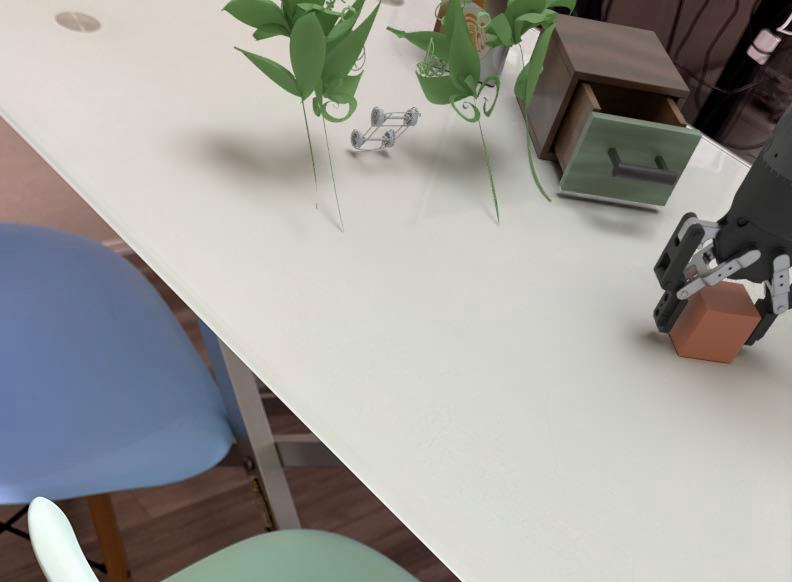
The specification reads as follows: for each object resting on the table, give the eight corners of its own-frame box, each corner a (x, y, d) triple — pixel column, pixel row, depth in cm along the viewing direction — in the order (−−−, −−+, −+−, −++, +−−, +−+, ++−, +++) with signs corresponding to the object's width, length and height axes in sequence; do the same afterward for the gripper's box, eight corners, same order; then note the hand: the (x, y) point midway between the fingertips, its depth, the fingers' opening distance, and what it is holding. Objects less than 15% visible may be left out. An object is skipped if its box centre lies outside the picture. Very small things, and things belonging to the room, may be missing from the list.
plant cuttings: (526, 251, 107) (496, 49, 107) (634, 189, 91) (598, -48, 91) (223, 266, 96) (190, 41, 96) (284, 199, 79) (244, -72, 80)
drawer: (676, 230, 99) (716, 159, 94) (570, 213, 98) (604, 139, 92) (632, 142, 111) (666, 73, 105) (537, 125, 110) (565, 55, 104)
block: (714, 328, 90) (743, 283, 87) (730, 363, 87) (762, 318, 83) (663, 321, 90) (690, 275, 86) (678, 356, 87) (707, 310, 83)
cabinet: (646, 176, 108) (690, 91, 101) (538, 158, 107) (574, 70, 99) (616, 113, 118) (653, 31, 110) (515, 95, 116) (547, 11, 109)
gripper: (740, 174, 72) (637, 349, 84) (916, 204, 74) (790, 371, 86) (710, 124, 77) (617, 297, 89) (876, 154, 79) (762, 319, 91)
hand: (702, 333), depth 88 cm, fingers open, 7 cm apart
